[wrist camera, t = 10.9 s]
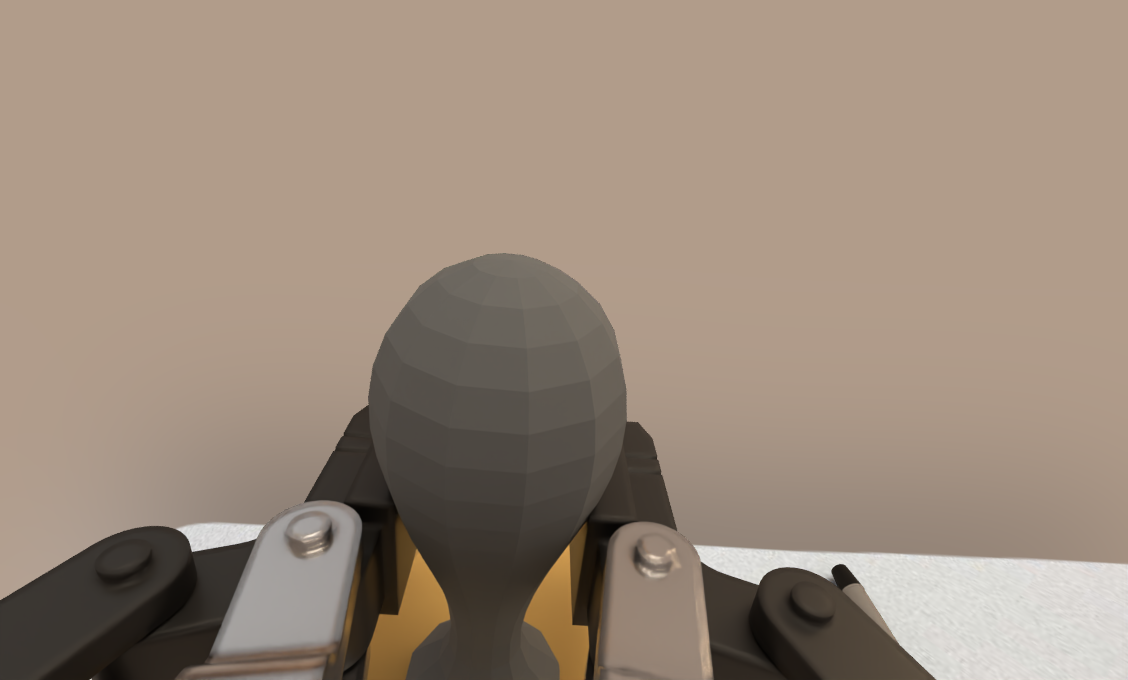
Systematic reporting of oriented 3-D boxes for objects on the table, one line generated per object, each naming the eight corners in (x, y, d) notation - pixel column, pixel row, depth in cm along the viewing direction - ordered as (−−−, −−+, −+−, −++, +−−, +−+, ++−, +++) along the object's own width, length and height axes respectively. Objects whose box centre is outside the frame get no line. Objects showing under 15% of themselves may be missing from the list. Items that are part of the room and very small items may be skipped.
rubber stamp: (527, 1304, 7) (785, 776, 2) (156, 1091, 8) (-297, 401, 3) (640, 635, 16) (742, 215, 11) (452, 576, 17) (462, 171, 12)
